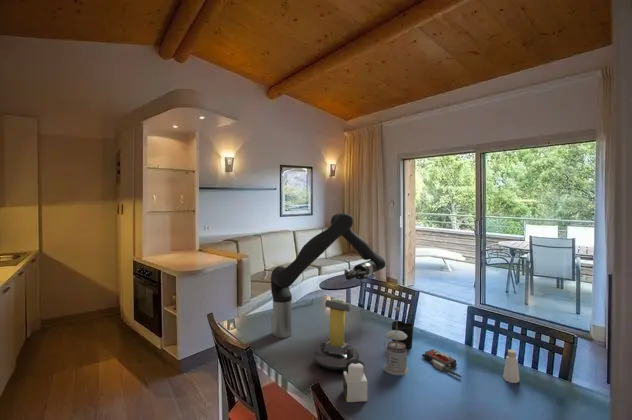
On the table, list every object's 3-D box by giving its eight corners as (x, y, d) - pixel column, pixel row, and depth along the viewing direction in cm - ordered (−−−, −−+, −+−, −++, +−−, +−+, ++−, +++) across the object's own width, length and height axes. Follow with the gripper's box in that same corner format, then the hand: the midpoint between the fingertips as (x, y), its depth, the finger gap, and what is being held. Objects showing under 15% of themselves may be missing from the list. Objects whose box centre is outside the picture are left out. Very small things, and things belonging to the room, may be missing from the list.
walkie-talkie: (418, 359, 149) (459, 381, 132) (418, 349, 149) (459, 370, 132) (432, 354, 154) (473, 375, 137) (432, 344, 154) (474, 364, 136)
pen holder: (396, 351, 156) (397, 329, 155) (388, 342, 165) (388, 321, 165) (416, 349, 158) (416, 327, 157) (406, 340, 167) (407, 319, 166)
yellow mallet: (322, 351, 144) (323, 299, 143) (329, 346, 149) (330, 295, 149) (344, 358, 139) (345, 303, 138) (351, 352, 144) (352, 299, 143)
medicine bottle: (343, 390, 126) (343, 357, 125) (362, 389, 126) (363, 356, 125) (346, 402, 118) (346, 367, 118) (367, 401, 119) (367, 367, 118)
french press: (394, 377, 134) (395, 313, 133) (375, 364, 144) (376, 304, 143) (414, 371, 139) (415, 308, 137) (394, 358, 149) (395, 300, 148)
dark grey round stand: (306, 367, 141) (306, 348, 141) (328, 350, 157) (328, 332, 156) (346, 380, 132) (346, 359, 131) (366, 361, 147) (366, 342, 147)
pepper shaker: (519, 384, 129) (520, 355, 129) (502, 380, 132) (503, 351, 131) (519, 378, 134) (520, 349, 133) (503, 374, 137) (504, 346, 136)
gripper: (351, 261, 184) (335, 268, 169) (375, 264, 177) (360, 271, 162) (351, 276, 184) (335, 283, 169) (375, 279, 177) (360, 287, 162)
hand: (347, 277), depth 166 cm, fingers closed
